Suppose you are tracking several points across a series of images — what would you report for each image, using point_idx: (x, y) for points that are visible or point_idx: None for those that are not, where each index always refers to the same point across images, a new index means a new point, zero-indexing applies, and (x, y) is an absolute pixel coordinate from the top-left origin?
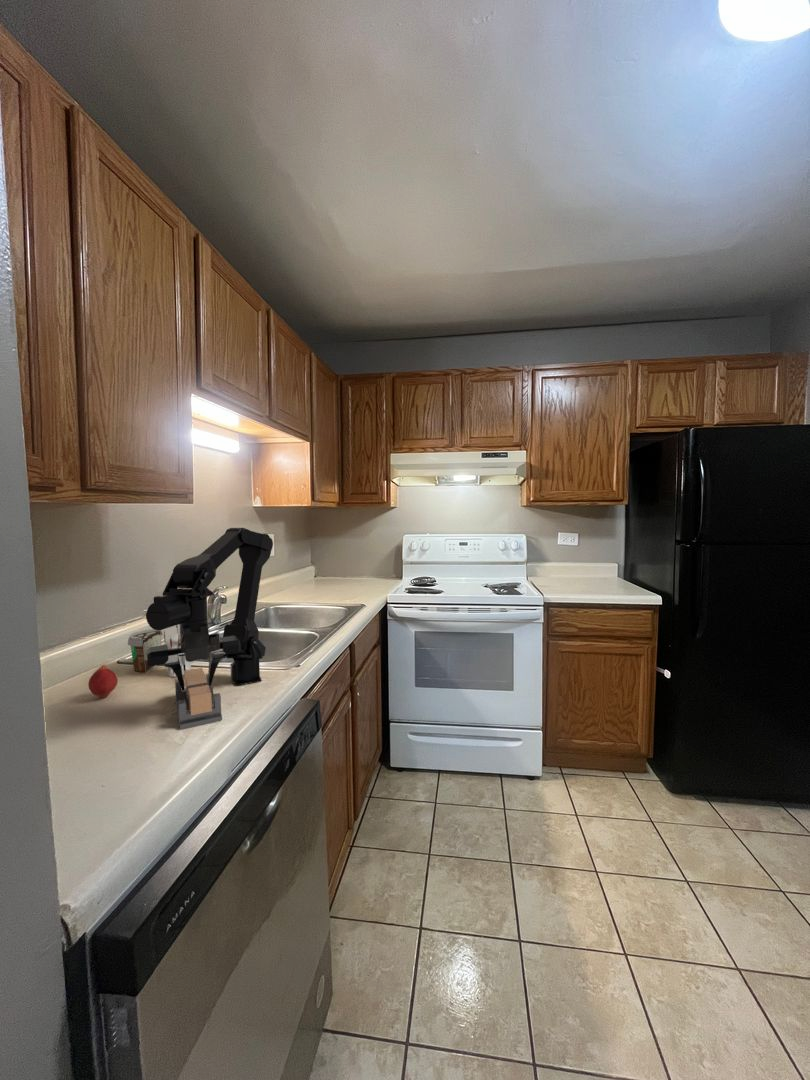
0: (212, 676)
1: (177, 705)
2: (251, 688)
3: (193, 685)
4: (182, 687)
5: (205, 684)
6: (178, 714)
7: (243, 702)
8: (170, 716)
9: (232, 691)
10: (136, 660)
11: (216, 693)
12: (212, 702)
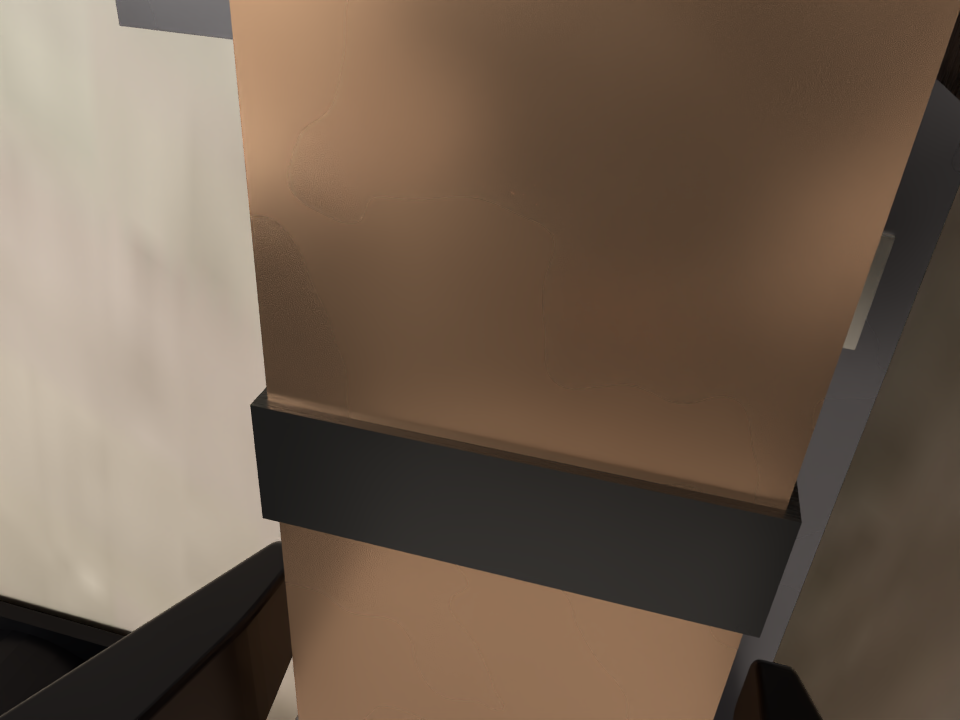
0: (137, 652)
1: (801, 574)
2: (12, 508)
3: (613, 550)
4: (804, 715)
5: (326, 419)
6: (922, 278)
7: (62, 219)
8: (957, 412)
9: (181, 565)
10: None
11: (181, 28)
12: None
